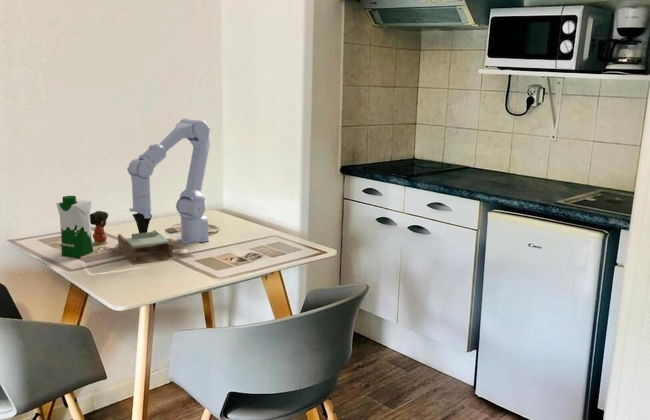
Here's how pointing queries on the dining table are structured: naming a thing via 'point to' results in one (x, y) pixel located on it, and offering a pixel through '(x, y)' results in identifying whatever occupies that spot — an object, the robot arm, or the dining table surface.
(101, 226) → the figurine
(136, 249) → the brown wooden tray
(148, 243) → the lid
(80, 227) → the milk carton
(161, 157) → the robot arm
